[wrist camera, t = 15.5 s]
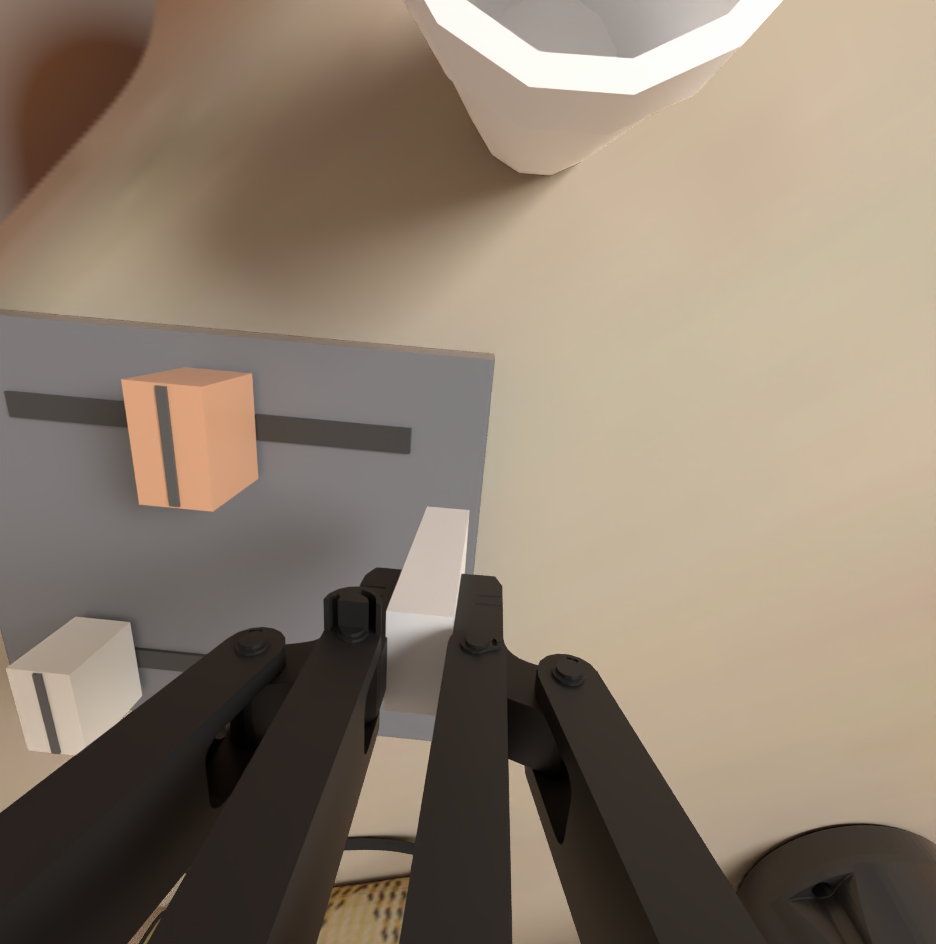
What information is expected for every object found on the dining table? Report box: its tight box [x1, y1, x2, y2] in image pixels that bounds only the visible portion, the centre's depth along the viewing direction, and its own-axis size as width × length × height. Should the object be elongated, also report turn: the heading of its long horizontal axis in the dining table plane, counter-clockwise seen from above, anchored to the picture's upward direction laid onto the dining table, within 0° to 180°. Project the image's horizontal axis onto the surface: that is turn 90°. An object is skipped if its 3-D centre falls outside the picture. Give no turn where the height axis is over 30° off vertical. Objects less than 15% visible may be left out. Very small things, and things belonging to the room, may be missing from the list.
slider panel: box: [0, 309, 495, 741], centre depth 26 cm, size 22×26×3 cm
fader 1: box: [6, 617, 142, 755], centre depth 25 cm, size 5×3×4 cm, turn 175°
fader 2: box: [121, 367, 258, 512], centre depth 20 cm, size 5×3×4 cm, turn 175°
